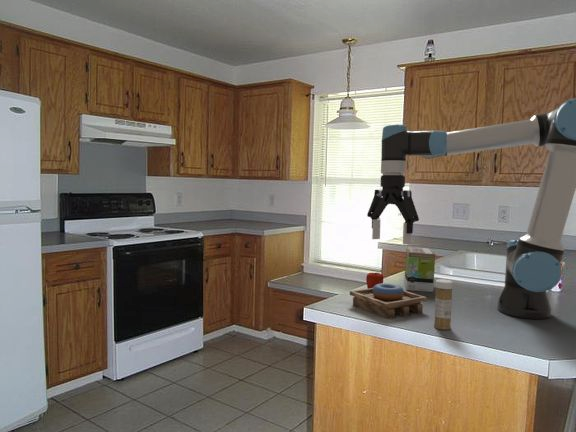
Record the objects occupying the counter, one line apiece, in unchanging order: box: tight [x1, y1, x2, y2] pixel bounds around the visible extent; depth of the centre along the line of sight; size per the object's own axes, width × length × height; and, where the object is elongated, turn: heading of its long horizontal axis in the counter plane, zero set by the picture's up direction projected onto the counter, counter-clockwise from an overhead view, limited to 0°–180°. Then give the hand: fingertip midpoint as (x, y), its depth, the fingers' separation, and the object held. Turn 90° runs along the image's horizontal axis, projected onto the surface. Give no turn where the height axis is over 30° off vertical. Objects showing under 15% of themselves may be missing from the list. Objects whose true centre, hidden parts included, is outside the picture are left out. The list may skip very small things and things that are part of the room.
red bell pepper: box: [365, 272, 384, 293], centre depth 162 cm, size 6×6×8 cm
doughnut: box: [373, 282, 405, 301], centre depth 141 cm, size 10×10×5 cm
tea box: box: [404, 247, 436, 293], centre depth 172 cm, size 15×10×15 cm, turn 168°
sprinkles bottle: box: [433, 278, 454, 331], centre depth 123 cm, size 5×5×14 cm
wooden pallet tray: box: [349, 288, 427, 320], centre depth 141 cm, size 17×17×5 cm
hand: (390, 241), depth 140 cm, fingers open, 13 cm apart
